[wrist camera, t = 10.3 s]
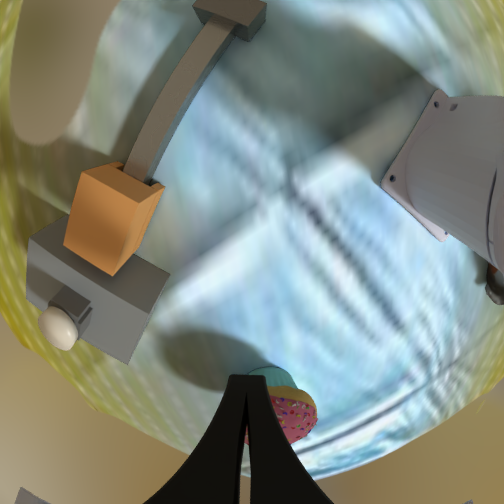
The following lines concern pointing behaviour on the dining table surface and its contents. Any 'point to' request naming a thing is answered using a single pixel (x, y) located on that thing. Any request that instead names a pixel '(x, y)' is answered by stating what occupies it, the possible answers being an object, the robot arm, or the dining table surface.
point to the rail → (192, 77)
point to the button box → (93, 292)
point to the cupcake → (288, 404)
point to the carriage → (109, 216)
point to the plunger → (58, 328)
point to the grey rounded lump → (495, 285)
